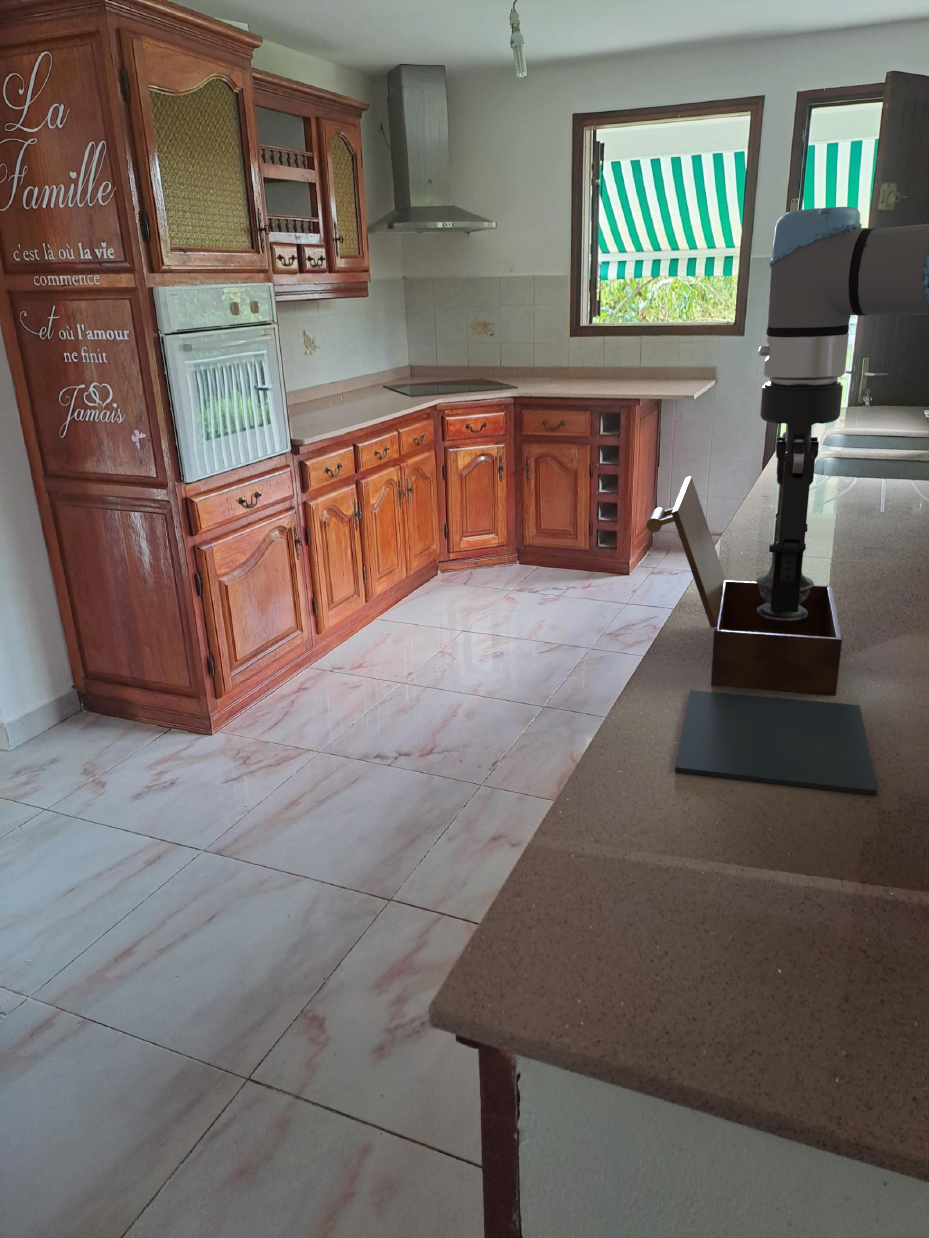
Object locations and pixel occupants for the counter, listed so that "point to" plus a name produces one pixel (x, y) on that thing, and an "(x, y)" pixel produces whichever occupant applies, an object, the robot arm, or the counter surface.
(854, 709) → the mat
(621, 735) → the counter surface
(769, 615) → the salt shaker
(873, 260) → the robot arm
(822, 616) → the bread box
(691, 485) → the bread box lid
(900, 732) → the counter surface
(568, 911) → the counter surface
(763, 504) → the counter surface
